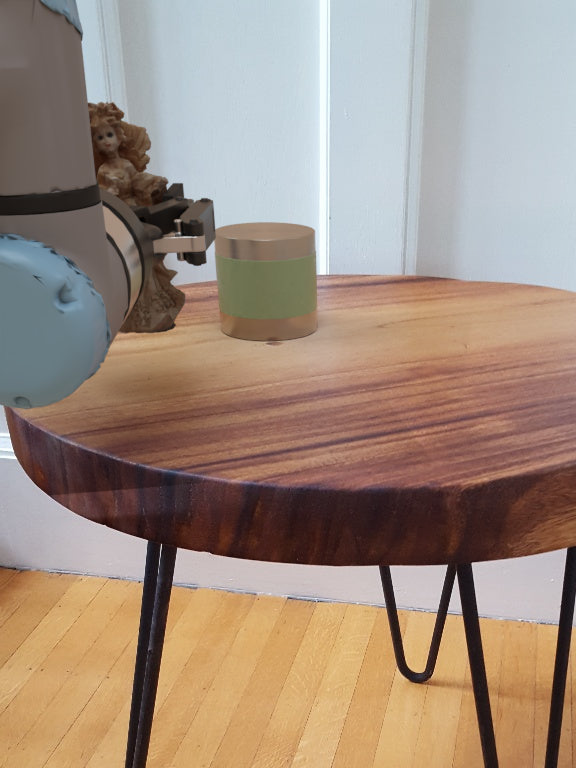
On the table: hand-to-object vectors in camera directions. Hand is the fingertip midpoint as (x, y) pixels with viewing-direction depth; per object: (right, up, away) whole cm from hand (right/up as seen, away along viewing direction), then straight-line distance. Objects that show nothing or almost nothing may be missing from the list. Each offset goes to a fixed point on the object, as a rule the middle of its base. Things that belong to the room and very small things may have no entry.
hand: (137, 202), depth 74 cm
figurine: (0, -10, 0) cm, 10 cm away
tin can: (+8, -2, +22) cm, 23 cm away
